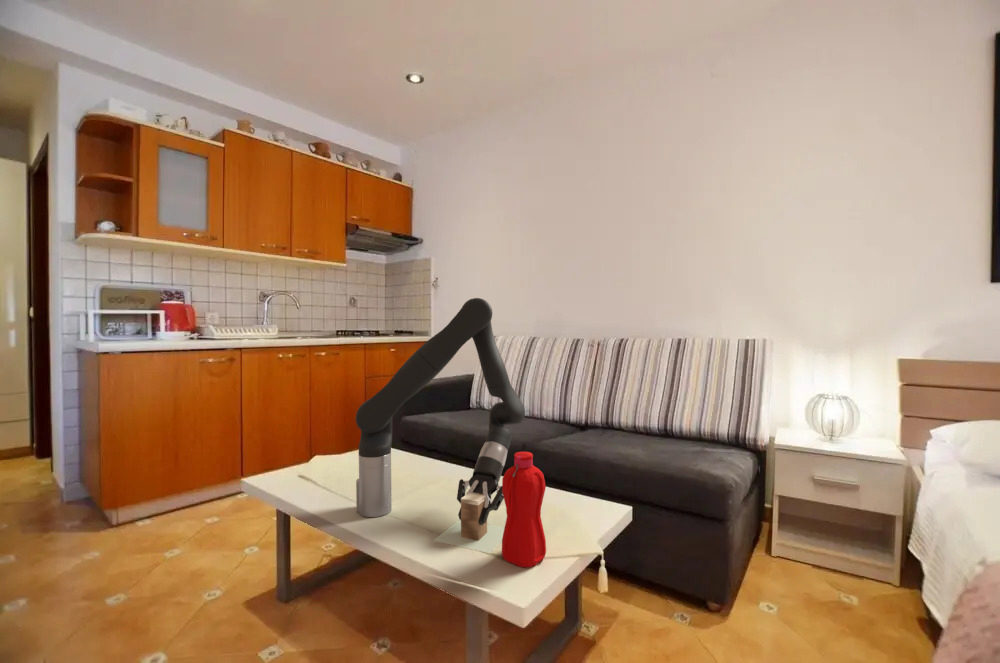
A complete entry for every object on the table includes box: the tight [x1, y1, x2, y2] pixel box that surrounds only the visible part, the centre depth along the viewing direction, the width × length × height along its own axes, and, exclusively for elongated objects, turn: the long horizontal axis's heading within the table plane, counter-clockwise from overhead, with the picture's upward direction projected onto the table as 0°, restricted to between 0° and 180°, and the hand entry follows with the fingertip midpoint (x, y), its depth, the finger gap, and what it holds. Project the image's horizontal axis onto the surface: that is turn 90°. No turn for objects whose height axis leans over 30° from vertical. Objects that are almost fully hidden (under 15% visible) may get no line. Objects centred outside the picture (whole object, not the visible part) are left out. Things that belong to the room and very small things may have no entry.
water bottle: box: [501, 451, 547, 568], centre depth 107 cm, size 9×11×25 cm
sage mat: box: [433, 519, 505, 555], centre depth 119 cm, size 16×14×1 cm
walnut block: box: [460, 492, 488, 541], centre depth 119 cm, size 5×5×10 cm
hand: (470, 521), depth 117 cm, fingers closed on walnut block, 5 cm apart
